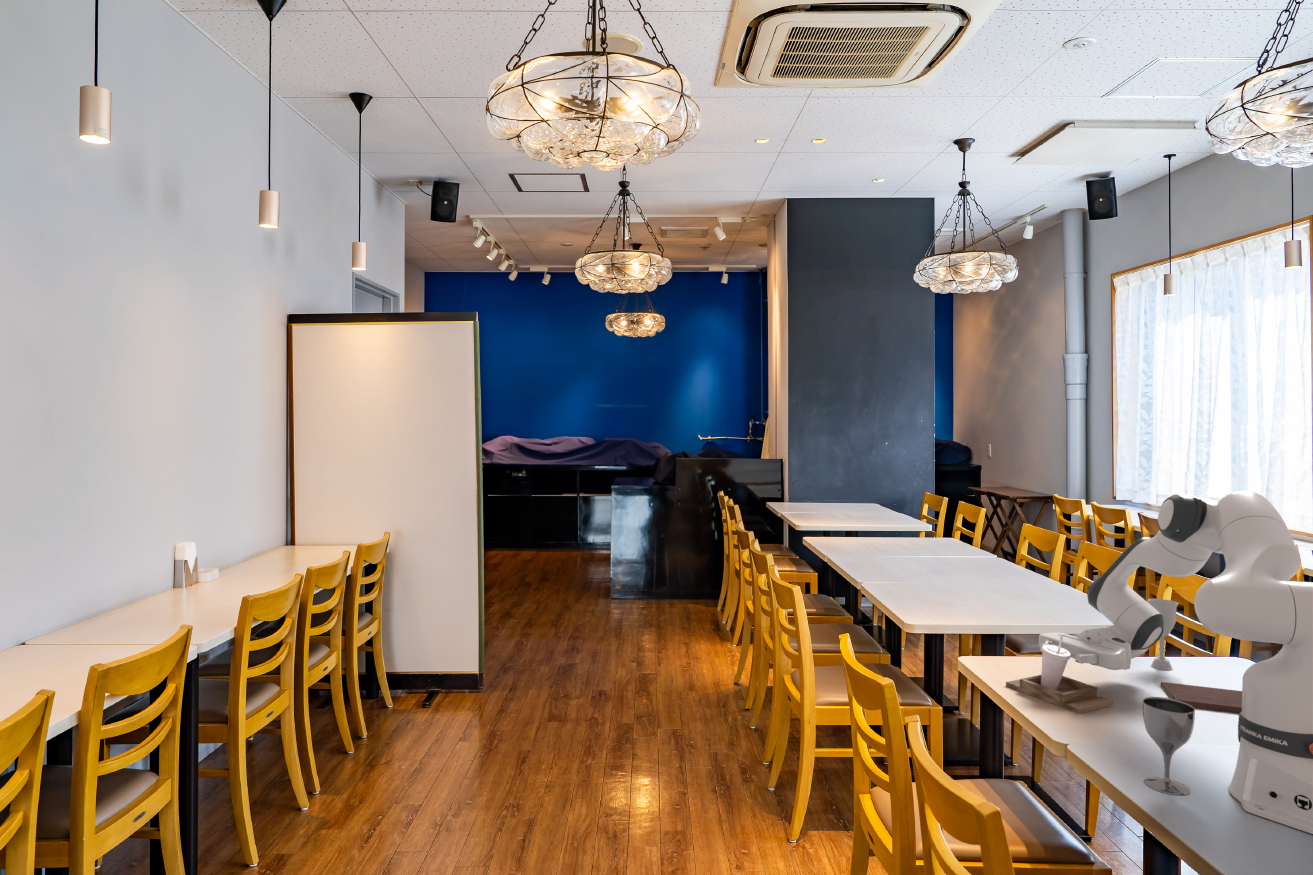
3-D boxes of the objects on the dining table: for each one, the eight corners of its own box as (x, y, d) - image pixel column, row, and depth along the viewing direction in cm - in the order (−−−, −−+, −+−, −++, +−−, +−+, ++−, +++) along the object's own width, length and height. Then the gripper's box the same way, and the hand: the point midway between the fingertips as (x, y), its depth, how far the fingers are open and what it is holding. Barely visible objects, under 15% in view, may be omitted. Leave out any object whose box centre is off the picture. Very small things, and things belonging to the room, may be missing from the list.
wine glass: (1130, 779, 142) (1132, 699, 141) (1160, 772, 144) (1162, 694, 144) (1173, 799, 134) (1174, 715, 134) (1203, 792, 137) (1205, 709, 137)
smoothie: (1067, 695, 184) (1078, 641, 182) (1039, 690, 185) (1049, 637, 183) (1058, 682, 191) (1069, 630, 188) (1031, 678, 192) (1041, 626, 189)
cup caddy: (1113, 705, 179) (1113, 692, 179) (1079, 713, 174) (1079, 700, 174) (1038, 679, 197) (1038, 667, 197) (1005, 685, 192) (1006, 674, 192)
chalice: (1183, 669, 206) (1184, 603, 206) (1166, 672, 204) (1167, 605, 203) (1157, 661, 213) (1158, 597, 212) (1140, 664, 210) (1141, 599, 210)
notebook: (1160, 687, 193) (1160, 679, 193) (1255, 698, 186) (1255, 690, 186) (1175, 707, 179) (1175, 699, 179) (1279, 720, 172) (1279, 711, 172)
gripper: (1059, 624, 201) (1023, 630, 195) (1137, 645, 183) (1099, 652, 177) (1059, 647, 201) (1022, 654, 195) (1136, 671, 183) (1098, 679, 177)
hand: (1059, 653), depth 186 cm, fingers open, 8 cm apart
